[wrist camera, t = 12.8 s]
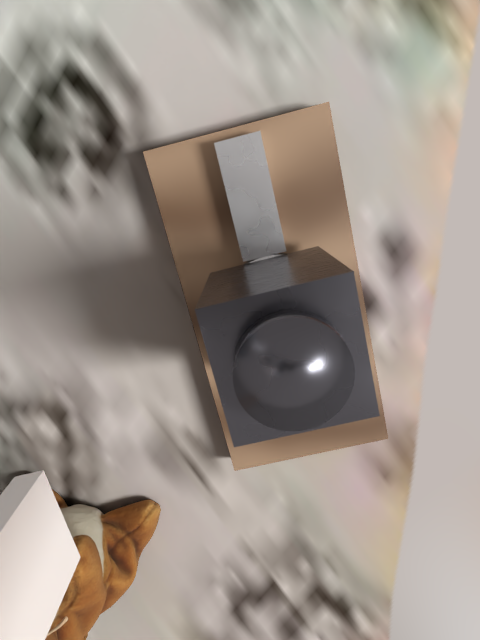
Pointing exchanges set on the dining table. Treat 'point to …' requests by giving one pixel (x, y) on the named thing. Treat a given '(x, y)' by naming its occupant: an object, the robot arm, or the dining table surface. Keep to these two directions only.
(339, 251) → the block
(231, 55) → the dining table surface
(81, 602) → the stuffed squirrel
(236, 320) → the grey cube with knob
